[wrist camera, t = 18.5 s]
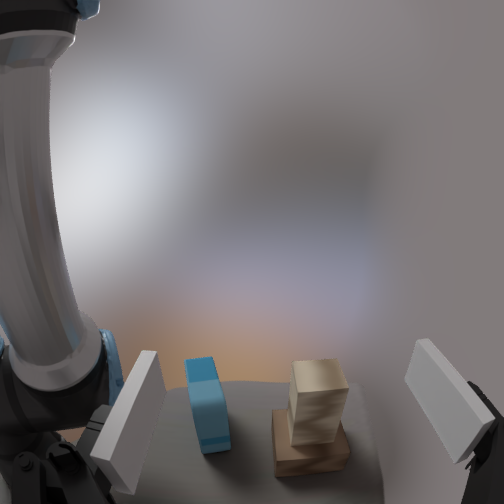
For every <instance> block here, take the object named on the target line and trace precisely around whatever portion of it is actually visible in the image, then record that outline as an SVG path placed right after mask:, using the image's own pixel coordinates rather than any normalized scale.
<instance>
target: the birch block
mask: <svg viewBox="0 0 504 504" xmlns="http://www.w3.org/2000/svg"><path fill="white" fill-rule="evenodd" d="M348 390H349V387H348V384H347V382H346V379H345V377H344V374H343V372H342V369H341V367H340V364H339V362H338V360H337V359H324V360H310V361H292V369H291V381H290V392H289V402H288V412H287V420H288V428H289V436H290V444H291V446H301V445H312V444H322V443H330V442H334V439H335V436H336V433H337V429H338V426H339V423H340V419H341V416H342V412H343V409H344V405H345V401H346V397H347V393H348Z"/></svg>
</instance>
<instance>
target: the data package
mask: <svg viewBox="0 0 504 504" xmlns="http://www.w3.org/2000/svg"><path fill="white" fill-rule="evenodd" d="M184 365H185V372H186V378H187V385H188V391H189V397H190V403H191V408H192V414H193V418H194V423H195V427H196V431H197V436H198V440H199V444H200V448H201V452H202V454H206V453H213V452H220V451H226V450H230V449H231V442H230V433H229V423H228V413H227V406H226V401H225V397H224V394H223V391H222V387H221V384H220V381H219V378H218V374H217V371H216V367H215V364H214V361H213V358H212V357H203V358H195V359H187V360H184Z"/></svg>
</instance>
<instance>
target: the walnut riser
mask: <svg viewBox="0 0 504 504" xmlns="http://www.w3.org/2000/svg"><path fill="white" fill-rule="evenodd" d="M287 412H288V409H284V410H272V428H271V430H272V443H273V457H274V470H275V477H286V476H298V475H308V474H317V473H324V472H331V471H338V470H343V469H344V467H345V464H346V462H347V460H348V458H349V455H350V453H351V452H350V449H349V445H348V442H347V439H346V436H345V433H344V429H343V426H342V423H341V420H340V423H339V426H338V429H337V433H336V436H335V439H334V442H330V443H322V444H312V445H301V446H291V444H290V436H289V428H288V420H287Z"/></svg>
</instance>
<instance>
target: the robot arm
mask: <svg viewBox="0 0 504 504" xmlns="http://www.w3.org/2000/svg"><path fill="white" fill-rule="evenodd" d="M99 3H100V0H0V324H1V326H2V328H3V330H4V332H5V334H6V335H7V337H8V339H9V341H10V345H8V346H6V345H4V340H3V338H2V337H1V336H0V472H1V475H2V476H3V478H4V479H5V481H6V482H7V483H8V484H9V485H10V486H11V487H12V504H116V502H115V500H114V499H113V497H112V495H111V494H110V492H109V491H110V489H111V486H113V487H114V489H115V490H116V491H118V492H122V493H126V494H130V495H134V494H135V491H136V487H137V484H138V481H139V477H140V474H141V471H142V467H143V464H144V461H145V457H146V454H147V451H148V448H149V444H150V441H151V438H152V435H153V432H154V429H155V426H156V422H157V419H158V416H159V413H160V410H161V407H162V404H163V401H164V398H165V395H166V389H165V385H164V381H163V377H162V372H161V368H160V363H159V359H158V355H157V352H156V351H145V350H142V352H141V354H140V356H139V357H138V360H137V361H136V363H135V365H134V367H133V369H132V371H131V373H130V375H129V377H128V378H127V380H126V382H125V384H124V382H123V376H122V369H121V364H120V360H119V356H118V351H117V347H116V343H115V339H114V336H113V334H112V332H111V331H109V330H103V329H98V328H97V326H96V324H95V322H94V321H93V320H92V318H90V317H89V316H88V315H87V314H85V313H84V312H82V311H80V310H78V307H77V303H76V300H75V296H74V293H73V289H72V286H71V282H70V278H69V274H68V270H67V266H66V261H65V257H64V253H63V248H62V243H61V237H60V232H59V226H58V221H57V214H56V207H55V200H54V192H53V183H52V172H51V159H50V140H49V139H50V138H49V103H50V102H49V101H50V82H51V69H52V66H53V64H54V63H55V61H56V60H57V59H58V58H59V57H60V56H61V55H62V54H63V53H64V52H65V51H66V50H67V49H68V48H69V47H70V46H71V45H72V44H73V43H74V41H75V34H76V28H77V23H78V20H79V19H81V20H82V21H83V20H87V19H89V18H90V17H93V16H95V15H97V14H98V12H99ZM404 380H405V382H406V384H407V385H408V387H409V388H410V390H411V391H412V393H413V395H414V396H415V398H416V399H417V401H418V403H419V404H420V406H421V408H422V409H423V411H424V412H425V414H426V416H427V417H428V419H429V421H430V422H431V424H432V426H433V427H434V429H435V431H436V432H437V434H438V436H439V438H440V439H441V441H442V443H443V445H444V446H445V448H446V450H447V452H448V453H449V455H450V457H451V459H452V461H453V462H454V464H456V463H459V462H461V461H463V460H465V459H467V458H468V456H469V455H470V454H471V453H472V451H474V453H475V456H474V457H473V458H472V459H471V461H470V462H469V463H468V464H467V466H466V468H465V469H467V468H468V467H469V466H470V465H471V468H470V473H469V477H468V481H467V485H466V488H465V492H464V495H463V499H462V502H461V504H504V417H503V416H501V414H500V413H499V412H498V410H497V409H496V408H495V407H494V405H493V404H492V403H491V402H490V400H489V399H487V397H486V396H485V394H483V392H482V391H481V390H480V389H479V387H478V386H477V385H475V384H473V383H472V382H470V381H468V382H466V381H465V380H464V379H463V377H462V376H461V375H460V374H459V373H458V372H457V370H456V369H455V368H454V367H453V366H452V365H451V363H450V362H449V361H448V360H447V359H446V358H445V357H444V356H443V354H442V353H441V352H440V351H439V350H438V349H437V348H436V347H435V345H434V344H433V343H432V342H431V341H430V340H429V339H428V338H426V339H420V340H417V341H416V345H415V348H414V351H413V355H412V358H411V361H410V364H409V367H408V371H407V373H406V376H405V379H404ZM80 427H86V429H85V430H84V432H83V433H82V435H81V437H80V439H79V441H78V443H77V445H76V447H75V446H74V445H73V444H71V443H70V442H67V441H66V440H65V439H64V438H63V437H62V436H61V435H60V434H59V433H57V432H56V431H59V430H65V429H74V428H80Z"/></svg>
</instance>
